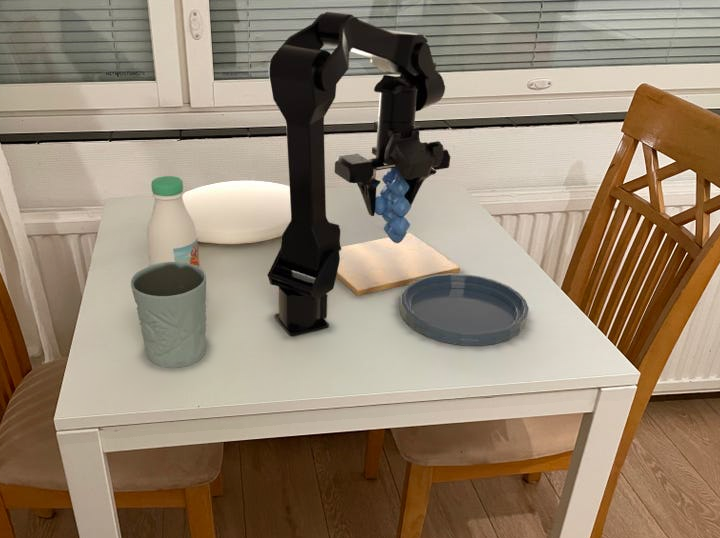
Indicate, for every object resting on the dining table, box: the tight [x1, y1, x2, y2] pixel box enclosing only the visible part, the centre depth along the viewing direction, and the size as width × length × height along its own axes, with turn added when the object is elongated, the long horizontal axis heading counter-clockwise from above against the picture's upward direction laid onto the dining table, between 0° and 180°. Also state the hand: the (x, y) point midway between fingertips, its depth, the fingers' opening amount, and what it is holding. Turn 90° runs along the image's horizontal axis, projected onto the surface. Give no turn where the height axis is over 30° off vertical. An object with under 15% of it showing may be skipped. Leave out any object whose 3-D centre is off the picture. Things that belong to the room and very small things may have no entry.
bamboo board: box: [336, 232, 461, 297], centre depth 132 cm, size 20×16×1 cm
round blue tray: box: [399, 273, 529, 347], centre depth 117 cm, size 19×19×2 cm
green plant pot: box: [130, 262, 207, 369], centre depth 105 cm, size 10×10×12 cm
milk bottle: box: [146, 175, 201, 268], centre depth 116 cm, size 8×8×20 cm
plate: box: [182, 180, 291, 245], centre depth 145 cm, size 28×6×27 cm
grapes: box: [375, 167, 412, 243], centre depth 126 cm, size 12×7×12 cm, turn 6°
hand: (389, 212), depth 127 cm, fingers closed on grapes, 6 cm apart
